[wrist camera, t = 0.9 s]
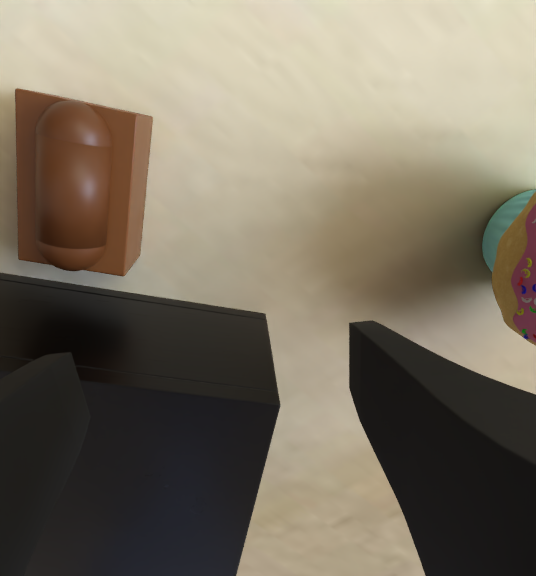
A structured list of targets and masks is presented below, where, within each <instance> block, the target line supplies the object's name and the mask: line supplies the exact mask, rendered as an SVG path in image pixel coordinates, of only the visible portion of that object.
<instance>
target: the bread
mask: <svg viewBox="0 0 536 576" xmlns="http://www.w3.org/2000/svg"><path fill="white" fill-rule="evenodd" d="M15 102H16V155H17V209H18V259H19V260H24V261H30V262H37V263H43V264H49V265H53V266H55V267H57V268H60V269H63V270H67V271H80V270H87V271H93V272H99V273H106V274H112V275H118V276H125V274H126V273H127V272H128V270H129V269H130V268H131V266H132V265H133V264H134V263H135V261H136V260H137V259H138V257H139V256H140V250H141V239H142V228H143V218H144V207H145V196H146V186H147V175H148V164H149V154H150V143H151V132H152V122H153V117H151V116H147V115H143V114H138V113H133V112H129V111H124V110H120V109H115V108H110V107H106V106H101V105H97V104H92V103H87V102H83V101H78V100H74V99H69V98H64V97H60V96H55V95H50V94H45V93H39V92H34V91H29V90H23V89H18V88H17V89H16V90H15Z"/></svg>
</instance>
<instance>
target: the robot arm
mask: <svg viewBox="0 0 536 576" xmlns="http://www.w3.org/2000/svg"><path fill="white" fill-rule="evenodd" d="M349 388H350V391H351V395H352V398H353V401H354V404H355V407H356V410H357V413H358V416H359V419H360V422H361V424H362V426H363V428H364V431H365V433H366V435H367V437H368V439H369V441H370V443H371V446H372V448H373V450H374V452H375V454H376V456H377V458H378V460H379V462H380V464H381V466H382V468H383V471H384V473H385V475H386V477H387V479H388V481H389V483H390V485H391V487H392V489H393V491H394V494H395V496H396V498H397V500H398V502H399V505H400V507H401V509H402V512H403V514H404V516H405V519H406V522H407V525H408V527H409V530H410V533H411V536H412V538H413V541H414V544H415V547H416V549H417V552H418V555H419V558H420V560H421V563H422V566H423V569H424V572H425V575H426V576H536V395H535V394H532V393H529V392H526V391H523V390H520V389H518V388H515V387H512V386H509V385H507V384H504V383H501V382H499V381H496V380H494V379H491V378H488V377H486V376H483V375H481V374H478V373H476V372H474V371H471V370H469V369H467V368H465V367H462V366H460V365H458V364H456V363H454V362H452V361H449V360H447V359H445V358H443V357H441V356H439V355H437V354H435V353H433V352H431V351H429V350H427V349H425V348H424V347H422V346H420V345H418V344H416V343H414V342H412V341H411V340H409V339H407V338H405V337H403V336H402V335H400V334H398V333H396V332H394V331H392V330H391V329H389V328H387V327H385V326H383V325H381V324H379V323H377V322H375V321H363V322H353V323H349ZM90 417H91V416H90V413H89V410H88V406H87V403H86V400H85V396H84V393H83V390H82V387H81V383H80V380H79V377H78V373H77V370H76V367H75V363H74V360H73V357H72V353H71V352H66V353H56V354H47V355H45V356H42V357H40V358H38V359H36V360H34V361H32V362H30V363H28V364H26V365H24V366H23V367H21V368H19V369H17V370H16V371H14V372H12V373H10V374H9V375H7V376H5V377H4V378H2V379H0V576H24V574H25V571H26V569H27V566H28V563H29V561H30V559H31V556H32V554H33V552H34V549H35V547H36V545H37V542H38V540H39V538H40V536H41V534H42V532H43V530H44V528H45V525H46V523H47V521H48V519H49V517H50V515H51V513H52V511H53V509H54V507H55V504H56V502H57V500H58V498H59V496H60V494H61V492H62V490H63V488H64V486H65V484H66V481H67V479H68V477H69V475H70V473H71V471H72V468H73V466H74V464H75V462H76V460H77V458H78V455H79V453H80V450H81V447H82V444H83V441H84V438H85V435H86V431H87V428H88V424H89V421H90Z"/></svg>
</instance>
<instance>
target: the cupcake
mask: <svg viewBox="0 0 536 576" xmlns="http://www.w3.org/2000/svg"><path fill="white" fill-rule="evenodd" d="M482 251H483V256H484V260H485V262H486V264H487V266H488V267H489V269H490V270H491V271H492V287H493V291H494V294H495V298H496V301H497V303H498V305H499V307H500V309H501V312H502V315H503V319H504V321H505V323H506V324H507V325H508V326H509V327H510V328H511V329H512V330H514V331H515V332H517V333H518V334H519V335H521V336H522V337H524V338H525V339H526V340H527V341H529V342H531V343H532V344H534V345H536V189H535V190H529V191H526V192H523V193H520V194H518V195H516V196H514V197H513V198H511V199H509V200H508V201H507V202H505V203H504V204H503V205H502V206H501V207H500V208H499V209H498V210H497V211H496V212H495V213H494V215H493V216H492V218H491V219H490V221H489V223H488V225H487V227H486V229H485V232H484V236H483V242H482Z"/></svg>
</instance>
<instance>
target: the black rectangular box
mask: <svg viewBox="0 0 536 576" xmlns="http://www.w3.org/2000/svg"><path fill="white" fill-rule="evenodd" d="M66 352H71V353H72V357H73V360H74V363H75V367H76V370H77V373H78V377H79V380H80V383H81V387H82V390H83V393H84V396H85V400H86V403H87V406H88V410H89V413H90V416H91V417H90V421H89V424H88V428H87V431H86V435H85V438H84V441H83V444H82V447H81V450H80V453H79V455H78V458H77V460H76V462H75V464H74V466H73V468H72V471H71V473H70V475H69V477H68V479H67V481H66V484H65V486H64V488H63V490H62V492H61V494H60V496H59V498H58V500H57V502H56V504H55V507H54V509H53V511H52V513H51V515H50V517H49V519H48V521H47V523H46V525H45V528H44V530H43V532H42V534H41V536H40V538H39V540H38V542H37V545H36V547H35V549H34V552H33V554H32V556H31V559H30V561H29V563H28V566H27V569H26V571H25V574H24V576H236V574H237V570H238V566H239V562H240V559H241V555H242V551H243V547H244V543H245V539H246V535H247V532H248V528H249V524H250V520H251V516H252V512H253V509H254V505H255V501H256V497H257V493H258V489H259V485H260V482H261V478H262V474H263V470H264V466H265V462H266V458H267V455H268V451H269V447H270V443H271V439H272V435H273V431H274V428H275V424H276V420H277V416H278V412H279V408H280V400H279V394H278V388H277V382H276V376H275V370H274V363H273V357H272V351H271V345H270V338H269V332H268V326H267V320H266V314H263V313H257V312H250V311H244V310H237V309H231V308H224V307H218V306H211V305H205V304H198V303H192V302H185V301H179V300H172V299H166V298H159V297H153V296H147V295H140V294H134V293H127V292H121V291H114V290H108V289H101V288H95V287H88V286H82V285H75V284H69V283H62V282H56V281H49V280H43V279H36V278H30V277H23V276H17V275H10V274H4V273H0V379H2V378H4V377H5V376H7V375H9V374H10V373H12V372H14V371H16V370H17V369H19V368H21V367H23V366H24V365H26V364H28V363H30V362H32V361H34V360H36V359H38V358H40V357H42V356H45V355H47V354H56V353H66Z"/></svg>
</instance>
